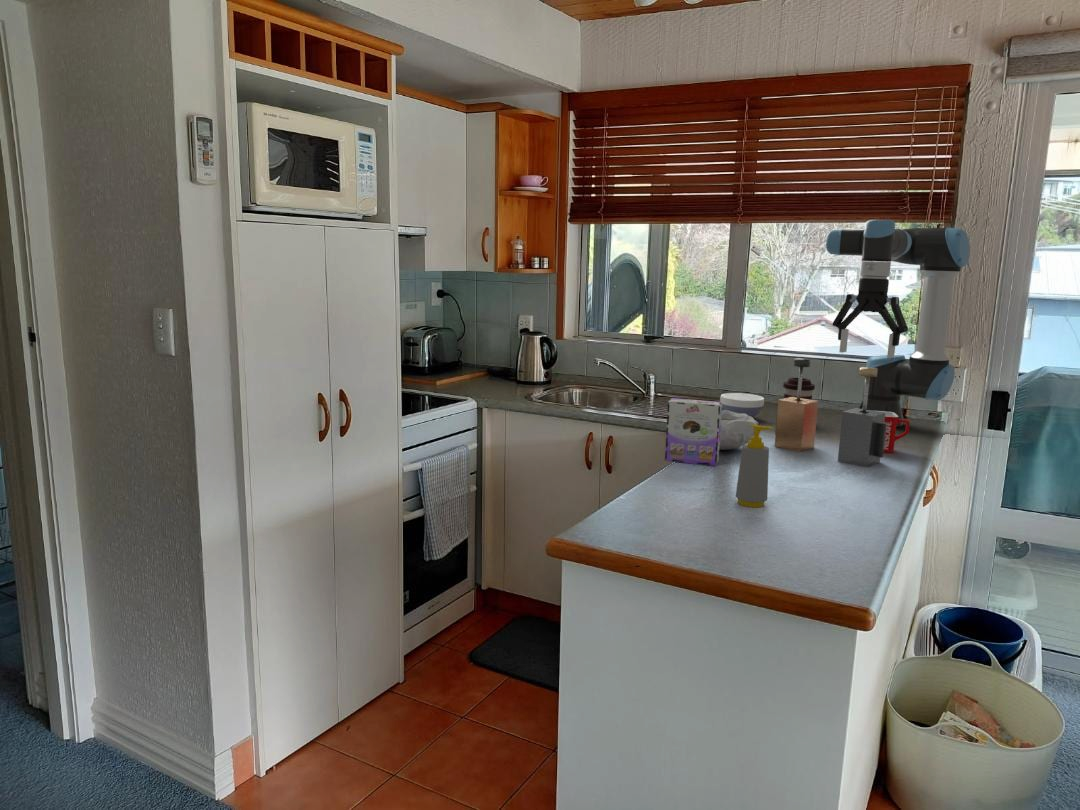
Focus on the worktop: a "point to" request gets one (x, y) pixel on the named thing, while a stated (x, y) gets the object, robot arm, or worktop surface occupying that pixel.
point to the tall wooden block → (796, 423)
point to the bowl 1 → (742, 403)
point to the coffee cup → (792, 388)
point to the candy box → (693, 431)
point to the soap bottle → (753, 471)
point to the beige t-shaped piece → (867, 382)
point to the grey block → (862, 437)
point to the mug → (892, 430)
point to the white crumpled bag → (735, 430)
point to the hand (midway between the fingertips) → (866, 355)
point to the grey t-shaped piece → (801, 372)
